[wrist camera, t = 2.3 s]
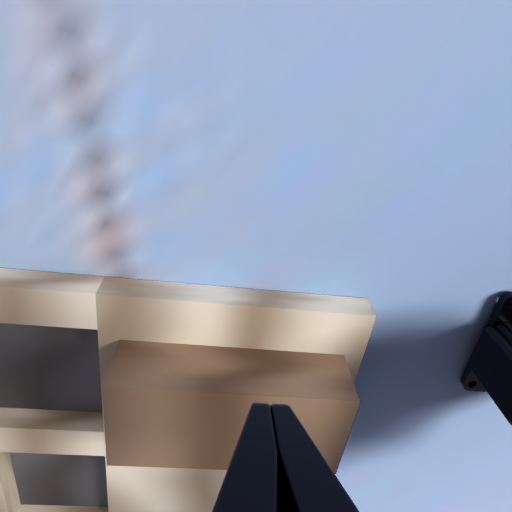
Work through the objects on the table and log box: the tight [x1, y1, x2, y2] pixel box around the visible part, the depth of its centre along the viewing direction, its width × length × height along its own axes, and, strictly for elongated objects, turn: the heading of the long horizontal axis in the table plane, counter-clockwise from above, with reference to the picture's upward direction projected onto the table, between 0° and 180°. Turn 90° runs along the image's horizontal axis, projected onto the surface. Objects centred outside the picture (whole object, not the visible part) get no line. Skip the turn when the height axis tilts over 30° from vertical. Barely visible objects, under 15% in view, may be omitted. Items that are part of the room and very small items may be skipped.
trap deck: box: [0, 268, 376, 512], centre depth 24 cm, size 20×22×2 cm
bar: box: [102, 340, 360, 474], centre depth 20 cm, size 11×5×3 cm, turn 83°
